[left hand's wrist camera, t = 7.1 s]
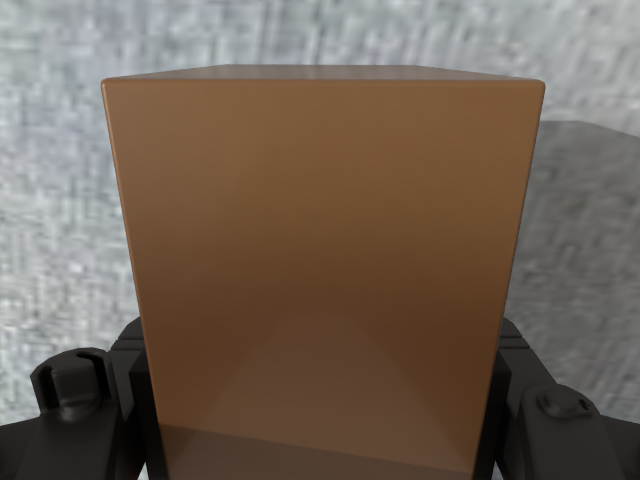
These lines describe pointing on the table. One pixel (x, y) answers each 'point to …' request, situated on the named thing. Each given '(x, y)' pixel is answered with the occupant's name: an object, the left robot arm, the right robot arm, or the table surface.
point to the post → (321, 261)
